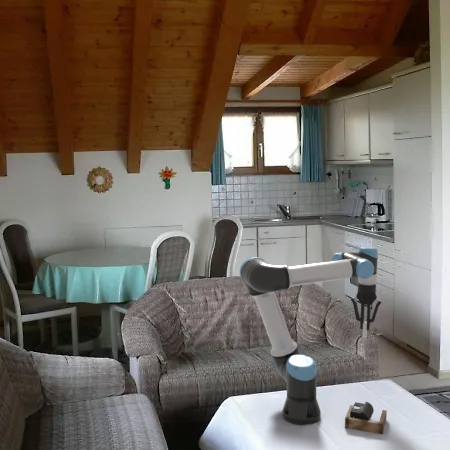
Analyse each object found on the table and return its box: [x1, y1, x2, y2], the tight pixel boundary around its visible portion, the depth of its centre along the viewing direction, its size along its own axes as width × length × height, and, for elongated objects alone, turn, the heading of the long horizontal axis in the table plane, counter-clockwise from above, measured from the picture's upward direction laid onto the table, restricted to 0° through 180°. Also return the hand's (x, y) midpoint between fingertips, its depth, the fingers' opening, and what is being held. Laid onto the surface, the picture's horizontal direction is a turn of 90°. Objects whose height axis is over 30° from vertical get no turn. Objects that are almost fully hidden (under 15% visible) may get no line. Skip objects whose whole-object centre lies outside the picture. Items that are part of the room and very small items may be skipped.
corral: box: [344, 404, 387, 435], centre depth 222 cm, size 14×12×4 cm
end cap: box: [350, 401, 375, 420], centre depth 223 cm, size 10×7×7 cm
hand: (364, 336), depth 247 cm, fingers closed
